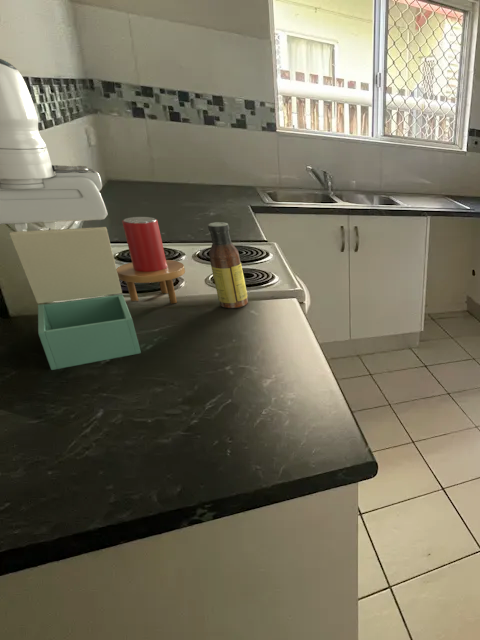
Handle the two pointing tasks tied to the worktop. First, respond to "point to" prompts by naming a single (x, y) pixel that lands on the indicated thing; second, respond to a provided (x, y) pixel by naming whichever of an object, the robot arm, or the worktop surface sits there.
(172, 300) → the stool
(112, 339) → the box
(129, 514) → the worktop surface
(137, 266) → the can
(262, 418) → the worktop surface
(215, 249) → the sauce bottle
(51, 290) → the lid
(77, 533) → the worktop surface
